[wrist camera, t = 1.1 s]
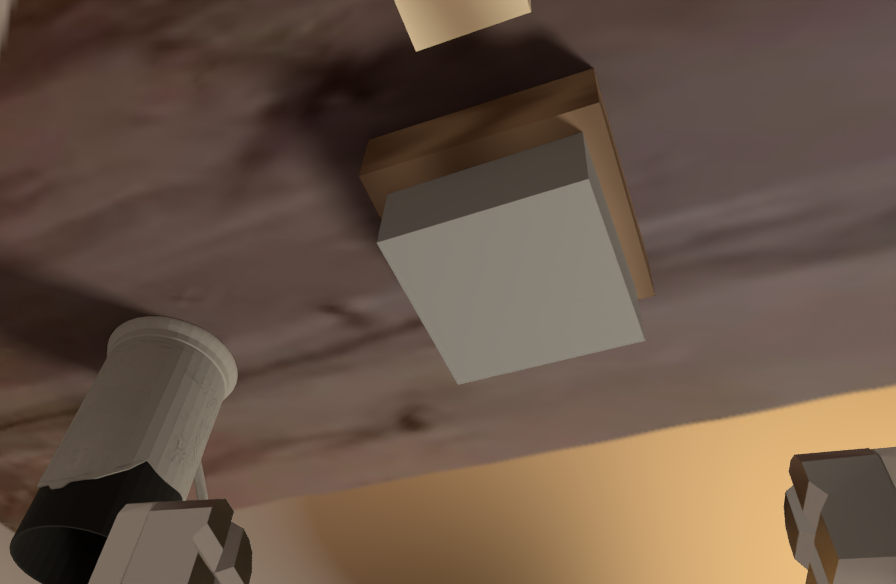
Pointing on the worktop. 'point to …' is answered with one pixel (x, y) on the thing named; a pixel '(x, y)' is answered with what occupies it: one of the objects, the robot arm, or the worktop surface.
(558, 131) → the walnut base slab
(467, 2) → the birch block
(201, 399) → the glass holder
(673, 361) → the worktop surface
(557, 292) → the slate top slab
